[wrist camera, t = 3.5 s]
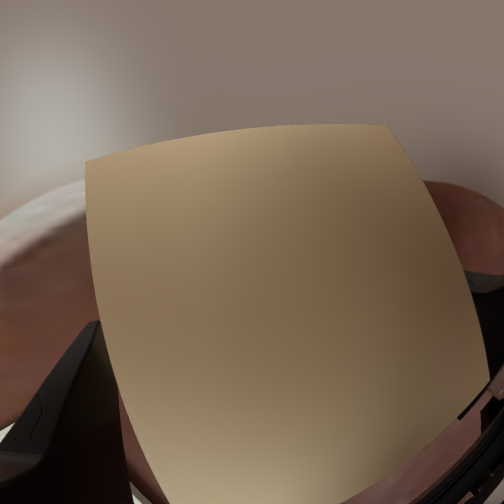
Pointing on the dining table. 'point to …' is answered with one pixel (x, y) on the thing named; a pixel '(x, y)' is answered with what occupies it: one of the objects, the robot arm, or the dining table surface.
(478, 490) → the robot arm
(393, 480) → the dining table surface
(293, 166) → the oak block
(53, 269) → the dining table surface
